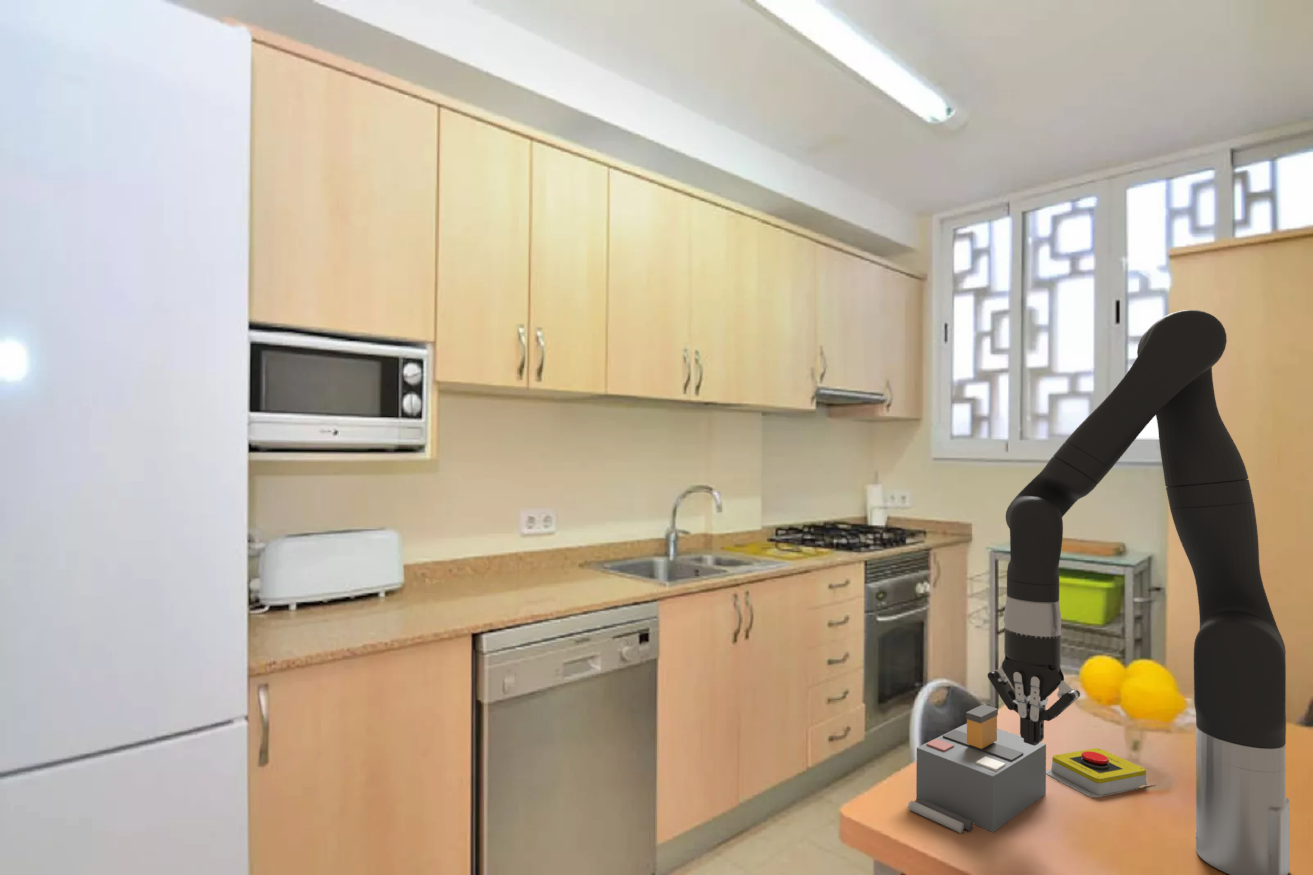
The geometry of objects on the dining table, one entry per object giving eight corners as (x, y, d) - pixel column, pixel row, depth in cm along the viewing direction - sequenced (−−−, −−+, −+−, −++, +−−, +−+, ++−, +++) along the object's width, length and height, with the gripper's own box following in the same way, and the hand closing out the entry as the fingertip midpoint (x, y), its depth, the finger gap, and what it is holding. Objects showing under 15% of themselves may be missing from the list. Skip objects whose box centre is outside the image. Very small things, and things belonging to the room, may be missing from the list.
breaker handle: (997, 740, 110) (997, 708, 111) (980, 749, 107) (981, 717, 107) (982, 735, 112) (983, 704, 112) (965, 744, 109) (966, 712, 109)
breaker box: (1045, 794, 110) (1045, 742, 111) (992, 832, 99) (993, 774, 99) (972, 766, 120) (972, 718, 120) (916, 798, 109) (916, 745, 109)
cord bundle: (972, 829, 100) (972, 819, 100) (962, 836, 98) (962, 826, 98) (917, 804, 107) (917, 795, 107) (906, 810, 105) (906, 801, 105)
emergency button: (1042, 749, 118) (1106, 738, 123) (1042, 775, 118) (1106, 763, 123) (1091, 773, 109) (1159, 761, 114) (1091, 801, 109) (1159, 787, 114)
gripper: (1090, 633, 101) (1090, 751, 101) (999, 615, 112) (998, 723, 111) (1070, 642, 97) (1069, 766, 96) (977, 622, 107) (976, 734, 107)
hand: (1031, 742), depth 104 cm, fingers closed
